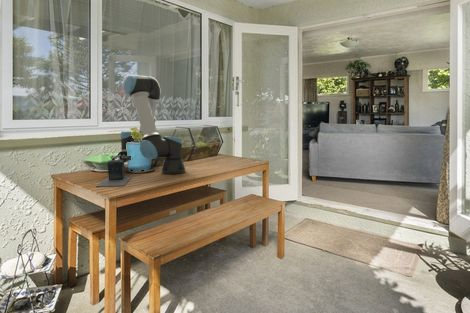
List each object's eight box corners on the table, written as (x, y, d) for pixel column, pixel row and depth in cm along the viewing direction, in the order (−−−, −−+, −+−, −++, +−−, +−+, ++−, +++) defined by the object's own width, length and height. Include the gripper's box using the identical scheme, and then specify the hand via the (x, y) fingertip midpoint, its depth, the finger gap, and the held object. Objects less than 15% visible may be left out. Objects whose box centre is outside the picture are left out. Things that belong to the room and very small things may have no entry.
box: (125, 177, 184) (124, 159, 182) (122, 179, 179) (121, 161, 177) (111, 177, 184) (110, 159, 182) (108, 180, 178) (107, 161, 176)
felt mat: (131, 178, 186) (130, 177, 186) (124, 186, 167) (124, 185, 167) (106, 178, 184) (106, 177, 184) (96, 187, 165) (96, 186, 165)
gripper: (135, 161, 207) (127, 168, 184) (114, 161, 205) (104, 168, 182) (134, 150, 206) (127, 155, 183) (113, 150, 204) (103, 155, 181)
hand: (115, 162), depth 183 cm, fingers closed
